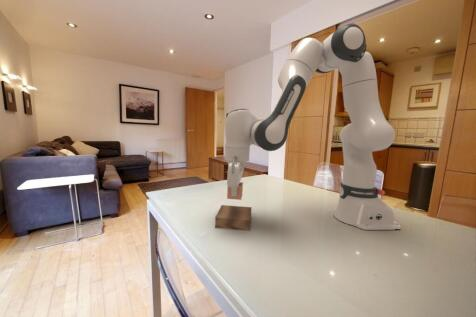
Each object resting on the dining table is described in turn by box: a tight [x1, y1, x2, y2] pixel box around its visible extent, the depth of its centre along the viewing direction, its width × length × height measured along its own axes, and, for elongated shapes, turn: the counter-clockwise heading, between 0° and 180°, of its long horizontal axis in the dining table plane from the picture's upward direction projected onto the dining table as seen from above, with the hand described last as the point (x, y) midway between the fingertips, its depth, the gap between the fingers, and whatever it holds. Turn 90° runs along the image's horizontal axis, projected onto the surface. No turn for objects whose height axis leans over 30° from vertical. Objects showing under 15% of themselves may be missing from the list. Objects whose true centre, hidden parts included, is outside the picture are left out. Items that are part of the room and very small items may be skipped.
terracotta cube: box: [226, 181, 244, 201], centre depth 75 cm, size 5×5×5 cm
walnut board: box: [214, 204, 252, 231], centre depth 76 cm, size 12×12×4 cm
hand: (235, 192), depth 75 cm, fingers closed on terracotta cube, 5 cm apart
